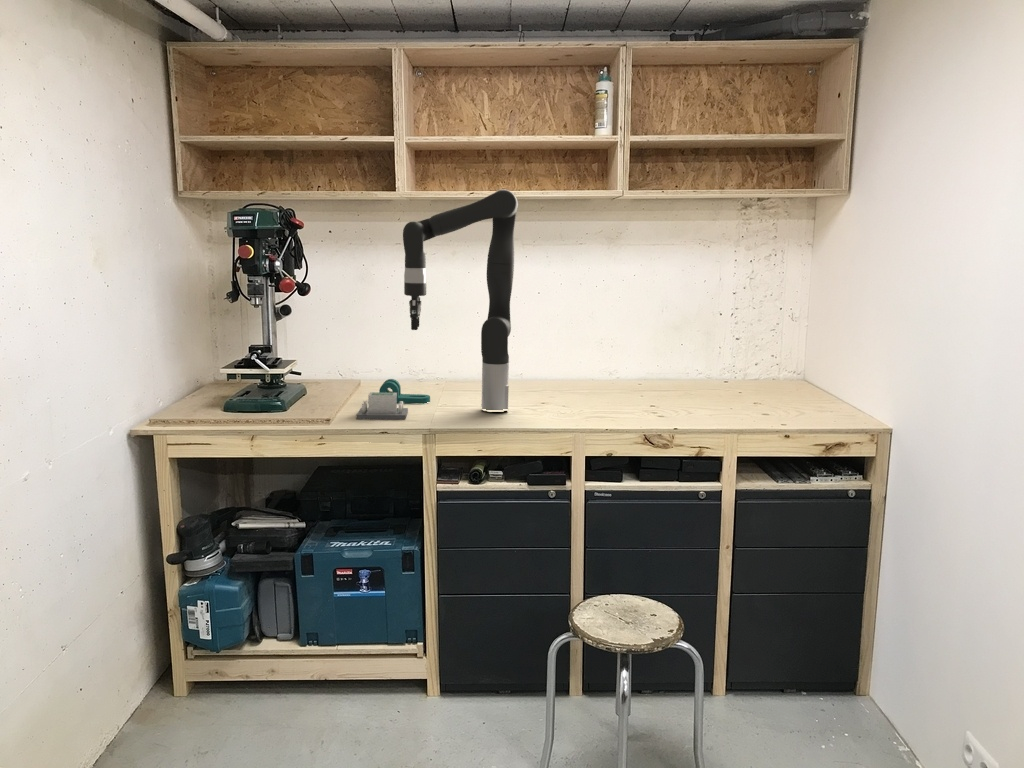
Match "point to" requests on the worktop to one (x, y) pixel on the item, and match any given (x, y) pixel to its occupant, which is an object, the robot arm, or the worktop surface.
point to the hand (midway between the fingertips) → (415, 328)
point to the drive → (382, 402)
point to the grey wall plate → (399, 414)
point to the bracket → (402, 397)
